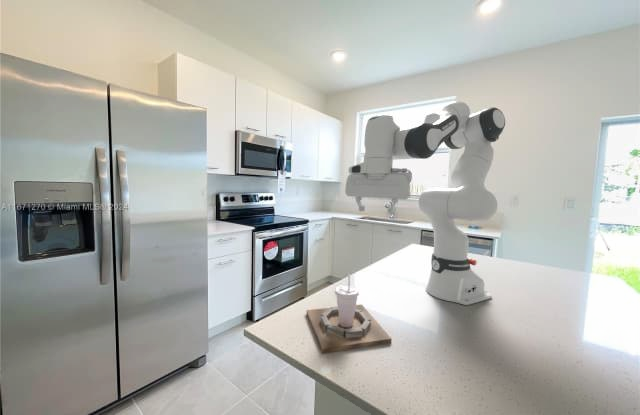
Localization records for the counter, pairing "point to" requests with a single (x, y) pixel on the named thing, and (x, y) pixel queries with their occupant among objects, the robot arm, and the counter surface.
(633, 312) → the counter surface
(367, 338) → the socket
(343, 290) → the smoothie
